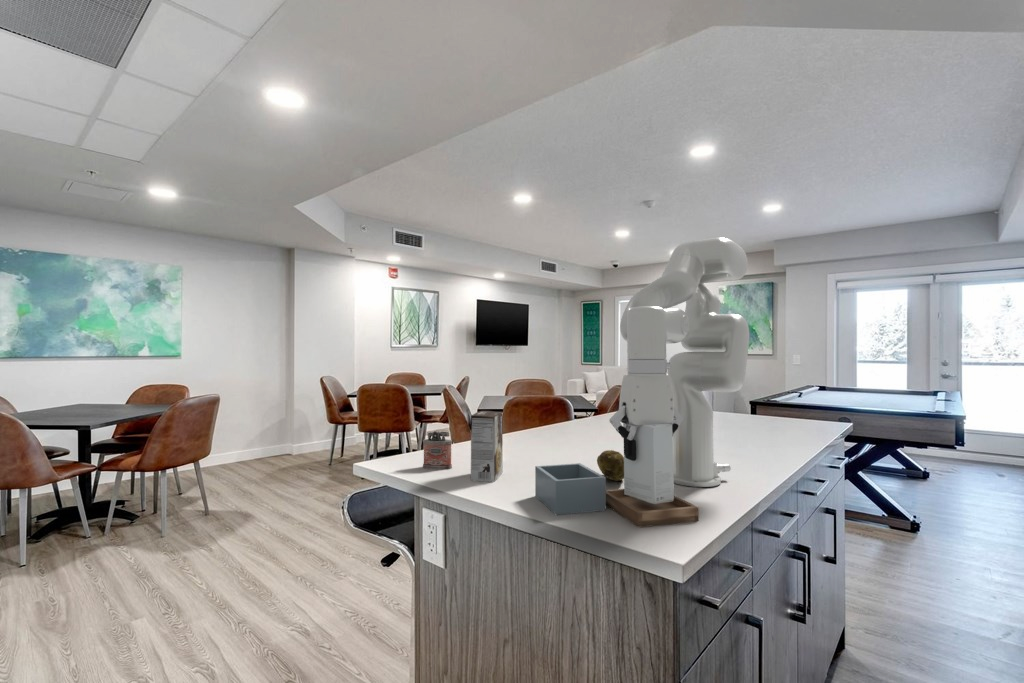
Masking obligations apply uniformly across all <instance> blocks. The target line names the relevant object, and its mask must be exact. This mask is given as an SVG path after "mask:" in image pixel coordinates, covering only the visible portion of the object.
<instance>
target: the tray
mask: <svg viewBox="0 0 1024 683" xmlns="http://www.w3.org/2000/svg"><path fill="white" fill-rule="evenodd" d="M606 507H608V508H609V509H611V510H612V511H614V512H615V513H617V514H618V515H620V516H621V517H622V518H624V519H625V520H627V521H629V523H632V524H633V525H634V526H635V527H637V528H643V527H644V528H645V527H652V526H654V527H655V526H662V525H663V526H664V525H673V524H682V523H689V522H698V521H700V520H699V518H700V517H699V512H700V511H699V506H697V505H695V504H694V503H691V502H688V501H686V500H684V499H682V498H680V497H678V496H677V495H674V500H673V501H671V502H665V503H658V504H652V503H649V502H646V501H643V500H640V499H637V498H634V497H631V496H628V495H625V494H624V488H617V489H606Z"/></svg>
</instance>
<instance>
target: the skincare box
mask: <svg viewBox="0 0 1024 683" xmlns="http://www.w3.org/2000/svg"><path fill="white" fill-rule="evenodd" d="M622 426H623V427H624V426H625V423H622ZM633 440H635V441H636V460H635V461H632V460H629V459H627V458H626V457H625V454H624V453H623V457H624V479H623V482H624V483H623V484H624V485H623V487H624V488H623V489H624V494H625V495H628V496H631V497H634V498H637V499H640V500H643V501H646V502H649V503H652V504H658V503H665V502H671V501H673V500H674V496H675V485H674V484H675V483H674V477H673V438H672V425H671V424H649V425H643V426H638V428H637V431H636V433H635V435H634V438H633Z"/></svg>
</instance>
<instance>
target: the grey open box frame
mask: <svg viewBox="0 0 1024 683" xmlns="http://www.w3.org/2000/svg"><path fill="white" fill-rule="evenodd" d="M534 470H535V474H534V475H535V481H534V482H535V490H534V491H535V496H534V497H535V498H536V499H538V500H539V501H540V502H541V503H542V504H543V505H544V506H545V507H547V509H549V510H550V511H551V512H552V513H553V514H555V516H560V515H569V514H570V515H571V514H580V513H581V514H582V513H590V512H600V511H606V509H607V508H606V507H607V506H606V490H607V489H606V486H607V482H606V481H607V480H606V479H607V477H606V476H605V475H602V474H600V473H599V472H597V471H595V470H593V469H592V468H589V467H588V466H586V465H584V464H583V463H581V462H579V463H566V464H565V463H563V464H549V465H535V469H534Z"/></svg>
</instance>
